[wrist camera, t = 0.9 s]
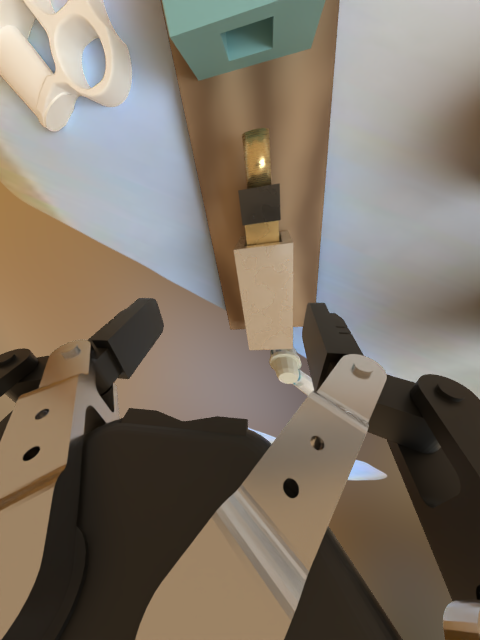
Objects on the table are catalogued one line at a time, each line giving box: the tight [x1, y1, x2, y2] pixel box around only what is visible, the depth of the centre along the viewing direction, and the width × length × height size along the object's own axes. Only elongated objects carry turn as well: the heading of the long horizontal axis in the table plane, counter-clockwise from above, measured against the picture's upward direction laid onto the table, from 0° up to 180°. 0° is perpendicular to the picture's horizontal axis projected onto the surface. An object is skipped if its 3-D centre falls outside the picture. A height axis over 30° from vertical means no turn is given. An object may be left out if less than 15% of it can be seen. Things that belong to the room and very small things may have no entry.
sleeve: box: [234, 230, 293, 350], centre depth 26 cm, size 6×14×6 cm, turn 8°
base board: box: [161, 0, 339, 329], centre depth 24 cm, size 14×36×2 cm, turn 8°
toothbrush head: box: [269, 348, 314, 396], centre depth 39 cm, size 5×7×25 cm
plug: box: [238, 128, 281, 246], centre depth 23 cm, size 4×22×4 cm, turn 8°
